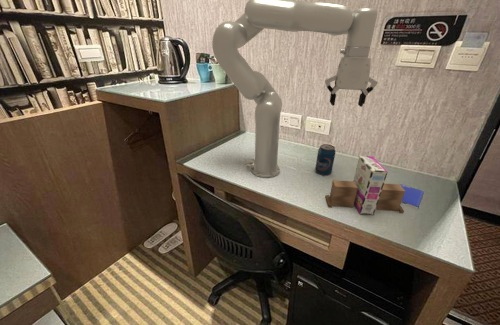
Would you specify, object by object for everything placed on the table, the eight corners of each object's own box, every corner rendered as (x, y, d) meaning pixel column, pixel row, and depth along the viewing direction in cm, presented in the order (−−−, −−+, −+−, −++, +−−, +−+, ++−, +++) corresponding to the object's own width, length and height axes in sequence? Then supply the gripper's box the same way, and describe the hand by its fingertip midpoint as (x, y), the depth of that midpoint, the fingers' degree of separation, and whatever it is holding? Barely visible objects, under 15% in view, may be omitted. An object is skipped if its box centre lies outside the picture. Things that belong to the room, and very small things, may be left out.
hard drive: (399, 183, 94) (392, 197, 86) (424, 191, 89) (418, 206, 81) (398, 186, 95) (390, 201, 86) (422, 194, 90) (417, 210, 82)
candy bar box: (375, 215, 78) (388, 171, 71) (359, 214, 78) (371, 171, 71) (362, 195, 88) (373, 155, 81) (349, 195, 88) (358, 155, 81)
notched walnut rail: (328, 207, 82) (332, 187, 78) (325, 197, 87) (328, 178, 83) (403, 213, 79) (410, 193, 76) (395, 202, 85) (402, 183, 81)
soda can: (313, 174, 102) (317, 148, 97) (316, 167, 108) (320, 142, 102) (330, 177, 99) (335, 151, 94) (332, 170, 105) (337, 145, 100)
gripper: (331, 53, 76) (323, 106, 83) (388, 54, 74) (374, 108, 82) (327, 52, 82) (320, 101, 90) (379, 53, 80) (367, 103, 88)
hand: (346, 105), depth 86 cm, fingers open, 9 cm apart
